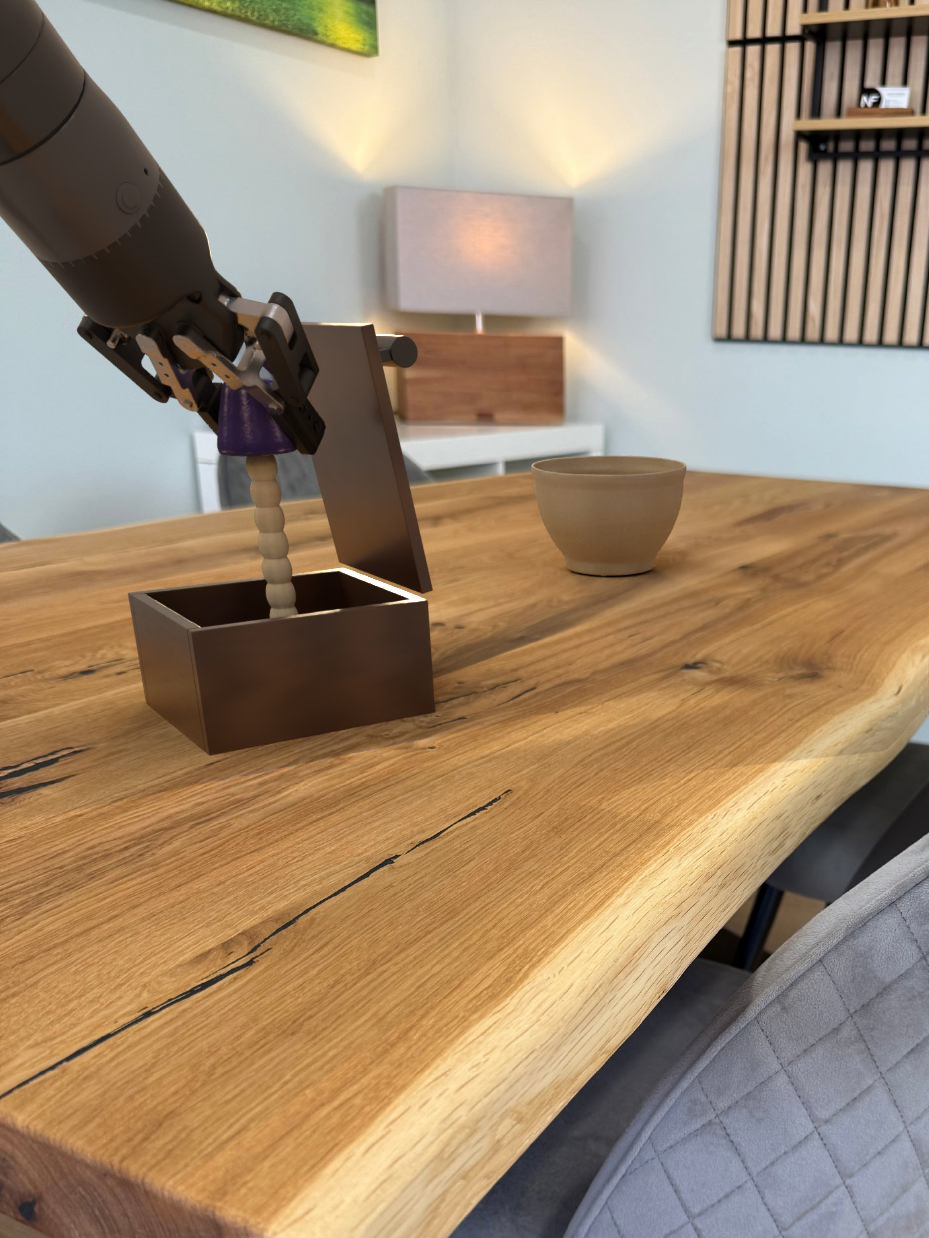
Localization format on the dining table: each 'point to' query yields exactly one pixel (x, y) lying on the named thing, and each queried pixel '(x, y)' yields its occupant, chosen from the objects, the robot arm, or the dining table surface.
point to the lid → (365, 453)
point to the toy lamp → (261, 485)
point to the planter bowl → (609, 509)
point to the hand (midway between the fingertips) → (278, 441)
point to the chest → (282, 658)
